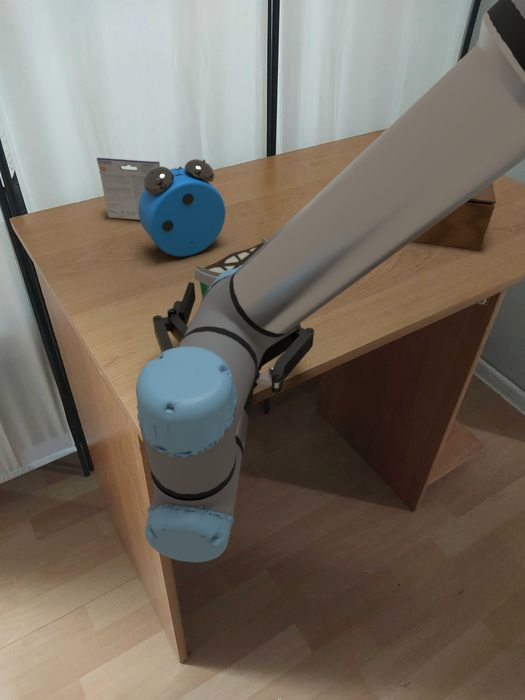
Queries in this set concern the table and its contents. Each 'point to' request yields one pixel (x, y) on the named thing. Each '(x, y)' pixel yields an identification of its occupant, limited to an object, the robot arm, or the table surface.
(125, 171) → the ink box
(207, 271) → the food container
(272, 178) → the table surface
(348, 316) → the table surface
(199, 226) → the alarm clock
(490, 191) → the flap
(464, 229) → the wooden box
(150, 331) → the table surface
